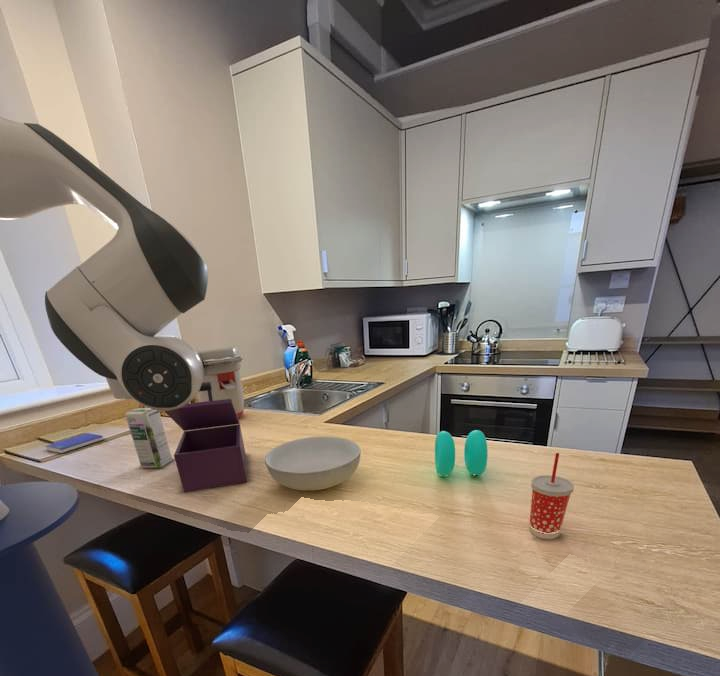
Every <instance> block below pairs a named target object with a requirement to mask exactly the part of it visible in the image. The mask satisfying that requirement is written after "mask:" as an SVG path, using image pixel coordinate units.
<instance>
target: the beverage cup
mask: <svg viewBox="0 0 720 676" xmlns="http://www.w3.org/2000/svg"><path fill="white" fill-rule="evenodd" d="M559 458H560V452H555V457H554V460H553V461H554V462H553V468H552V473H551V475H550V474H543V475H537V476H534V477H533V478H532V479H531V484H530V487H531V499H530V500H531V502H530V515H529V526H528V528H529V529H528V531H529V533H531V535H533V536H534V537H537V538H540V539H542V540H543V539H544V540H554V539H556V538H558V537H559V536H560V533H561V530H562V526H563V522H564V518H565V515H566V512H567V508H568V504H569V501H570V498H571V494H573V492H574V489H575V485H574V483H573V482H572V481H570V480H569V479H567V478H564V477H561V476H558V475H557V468H558V465H559V464H558V463H559ZM530 525H531V526H532V527H533V528H535V529H537V530H539V531H542V532H546V533H552V532H557V531H559V530H560V529H561V530H560V531H559V532H558V533H555V534H544V533H540V532H537V531H535V530H533V529H532V528H531V527H530Z"/></svg>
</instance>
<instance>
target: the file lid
mask: <svg viewBox="0 0 720 676" xmlns="http://www.w3.org/2000/svg"><path fill="white" fill-rule="evenodd" d="M211 390H212V386H211V382H202V385H201V388H200V390H199V392H200V391H208V397H209V401H206V402H197V401H196V402H190V403H188V404H187V405H185V406H183V407H181V408H178V409H175V410H171V411H163V412H164V413H165V414H166V415H167V416H168V417H169V418H170V419H171V420H172V421H173V422H174V423H175V424H176V425H177V426H178V427H180V429H181V430H182V431H183V432H184V431H190V430H198V429H206V428H214V427H222V426H230V425H238V424H240V423H241V422H240V418H239V419H238V416H237V413H236V411H235V408H234V405H233V402H232V400H231V399H224V400H215V401H213V398H212V392H211ZM240 425H241V424H240Z"/></svg>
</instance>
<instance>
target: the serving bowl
mask: <svg viewBox="0 0 720 676" xmlns="http://www.w3.org/2000/svg"><path fill="white" fill-rule="evenodd" d="M361 451H362V450H361V447H360V445H359V444H358V443H357V442H355V441H353V440H351V439H348V438H343V437H338V436H310V437H302V438H297V439H294V440H290V441H287V442H284V443H282V444H279V445H277V446H276V447H274V448H272V449H270V450H269V451H268V452H267V453H266V454H265V457H264V464H265V466H266V470H267V472H268V473H269V474H270V476H271V478H273V480H275V481H276V482H277V483H278V484H280V485H282V486H283V487H286V488H287V489H288V488H289V489H292V490H298V491H320V490H325V489H329V488H333V487H335V486H337V485H340V484H341V483H343V482H345V481H347V480H348V479H349V478H350V477H351V476H353V474H354V473H355V472H356V470H357V469H358V466H359V464H360V460H361V453H362V452H361Z"/></svg>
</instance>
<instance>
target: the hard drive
mask: <svg viewBox="0 0 720 676" xmlns="http://www.w3.org/2000/svg"><path fill="white" fill-rule="evenodd" d="M103 440H104V437H103V435H101V434H95V433H90V432H87V433H84V434H80V435H77V436H74V437H70V438H67V439H64V440H60V441H56V442H53V443H50V444H47V445H45V448H46V450H47V451H48V452H49V451H50V452H54V453H59V454H64V453H67V452H70V451H73V450H76V449H79V448H82V447H85V446H88V445H91V444H94V443H97V442H100V441H103Z"/></svg>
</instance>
